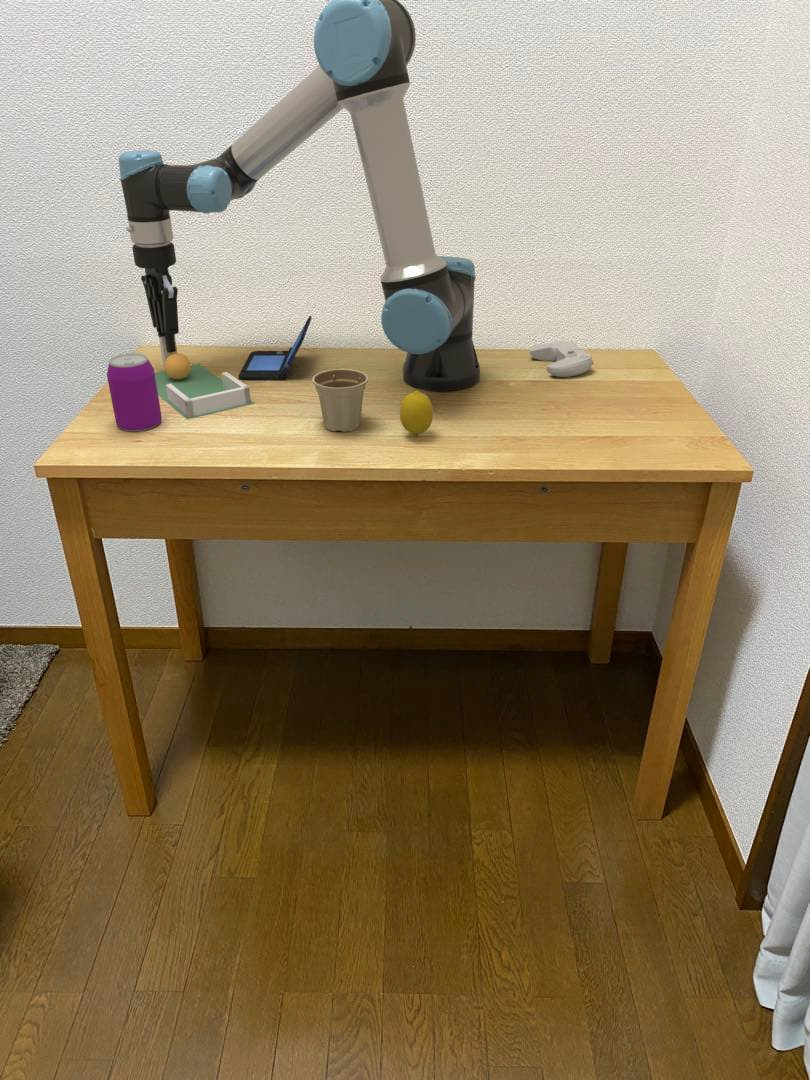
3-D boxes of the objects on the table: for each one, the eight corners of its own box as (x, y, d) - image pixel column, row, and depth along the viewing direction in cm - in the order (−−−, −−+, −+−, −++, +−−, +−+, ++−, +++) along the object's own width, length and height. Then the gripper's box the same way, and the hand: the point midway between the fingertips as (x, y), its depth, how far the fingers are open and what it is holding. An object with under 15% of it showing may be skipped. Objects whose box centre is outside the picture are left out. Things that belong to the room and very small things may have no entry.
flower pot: (333, 411, 153) (331, 365, 149) (379, 420, 149) (378, 373, 145) (304, 430, 146) (301, 382, 141) (351, 440, 142) (350, 391, 138)
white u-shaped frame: (251, 403, 155) (249, 387, 154) (188, 417, 150) (186, 401, 148) (228, 386, 163) (226, 371, 161) (168, 400, 157) (165, 384, 155)
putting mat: (254, 405, 156) (254, 403, 155) (187, 421, 149) (187, 419, 149) (199, 365, 174) (198, 363, 174) (137, 378, 168) (136, 376, 167)
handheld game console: (251, 357, 179) (247, 313, 174) (315, 357, 179) (312, 313, 174) (237, 383, 166) (232, 337, 161) (305, 384, 166) (302, 337, 161)
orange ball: (196, 379, 166) (193, 355, 163) (172, 385, 163) (168, 360, 161) (186, 372, 169) (183, 348, 167) (162, 377, 167) (158, 352, 164)
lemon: (433, 429, 146) (434, 385, 142) (431, 443, 141) (432, 397, 137) (401, 428, 146) (401, 384, 142) (398, 442, 142) (398, 396, 137)
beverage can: (115, 420, 150) (102, 354, 144) (160, 414, 152) (149, 349, 146) (118, 437, 144) (105, 369, 137) (165, 430, 146) (154, 363, 140)
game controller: (524, 343, 176) (569, 330, 177) (527, 363, 179) (572, 350, 180) (550, 366, 164) (598, 352, 165) (553, 387, 167) (600, 372, 168)
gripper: (121, 239, 159) (141, 360, 171) (144, 252, 150) (165, 379, 162) (159, 234, 163) (177, 353, 175) (185, 246, 154) (202, 371, 166)
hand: (171, 366), depth 169 cm, fingers closed
